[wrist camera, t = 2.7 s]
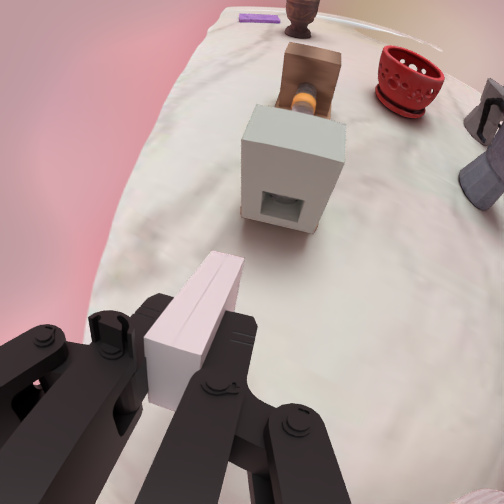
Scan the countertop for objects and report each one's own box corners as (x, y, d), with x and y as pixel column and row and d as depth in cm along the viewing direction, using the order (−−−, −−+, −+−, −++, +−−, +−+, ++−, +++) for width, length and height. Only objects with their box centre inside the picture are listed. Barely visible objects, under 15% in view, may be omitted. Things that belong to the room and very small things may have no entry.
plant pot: (387, 83, 50) (403, 43, 39) (432, 117, 46) (453, 77, 35) (356, 91, 46) (371, 43, 35) (406, 131, 42) (431, 83, 31)
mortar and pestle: (318, 32, 61) (327, -22, 43) (327, 42, 58) (339, -17, 39) (280, 29, 60) (286, -28, 42) (287, 38, 57) (294, -24, 39)
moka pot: (493, 233, 34) (564, 166, 16) (436, 169, 39) (492, 84, 20) (502, 208, 37) (560, 147, 18) (452, 152, 41) (498, 79, 23)
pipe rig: (329, 107, 43) (344, 54, 32) (315, 232, 32) (344, 167, 22) (279, 96, 44) (286, 41, 33) (240, 214, 33) (240, 143, 22)
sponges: (239, 18, 66) (239, 13, 64) (277, 19, 66) (278, 14, 65) (239, 23, 63) (239, 18, 61) (280, 25, 63) (280, 20, 62)
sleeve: (318, 197, 32) (345, 124, 21) (313, 233, 30) (344, 162, 19) (252, 182, 33) (256, 104, 22) (241, 217, 30) (241, 139, 20)
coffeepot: (455, 110, 49) (482, 60, 33) (479, 123, 49) (507, 77, 32) (475, 150, 43) (514, 95, 26) (500, 164, 42) (537, 115, 26)
